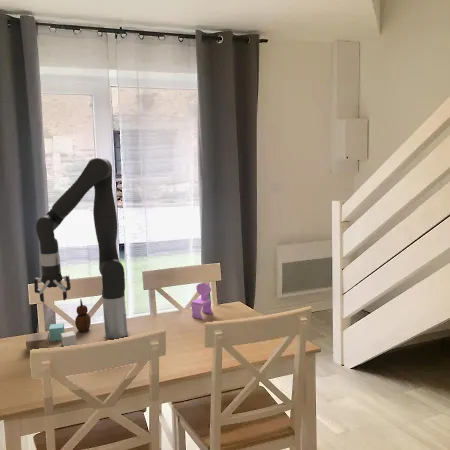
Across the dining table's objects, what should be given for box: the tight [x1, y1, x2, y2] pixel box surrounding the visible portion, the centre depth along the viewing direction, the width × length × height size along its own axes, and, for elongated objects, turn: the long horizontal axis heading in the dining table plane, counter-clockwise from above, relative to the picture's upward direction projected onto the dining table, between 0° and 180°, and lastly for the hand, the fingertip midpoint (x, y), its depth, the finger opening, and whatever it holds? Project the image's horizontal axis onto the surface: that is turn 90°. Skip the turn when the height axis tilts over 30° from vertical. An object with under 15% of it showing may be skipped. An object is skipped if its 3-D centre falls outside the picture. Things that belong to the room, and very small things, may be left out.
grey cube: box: [60, 330, 78, 347], centre depth 213 cm, size 5×5×5 cm
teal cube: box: [48, 322, 66, 342], centre depth 221 cm, size 6×6×6 cm
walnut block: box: [25, 331, 51, 354], centre depth 211 cm, size 8×8×5 cm
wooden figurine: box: [74, 298, 92, 333], centre depth 228 cm, size 7×6×15 cm
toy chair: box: [190, 282, 214, 320], centre depth 242 cm, size 8×9×15 cm
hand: (53, 300), depth 219 cm, fingers open, 8 cm apart
